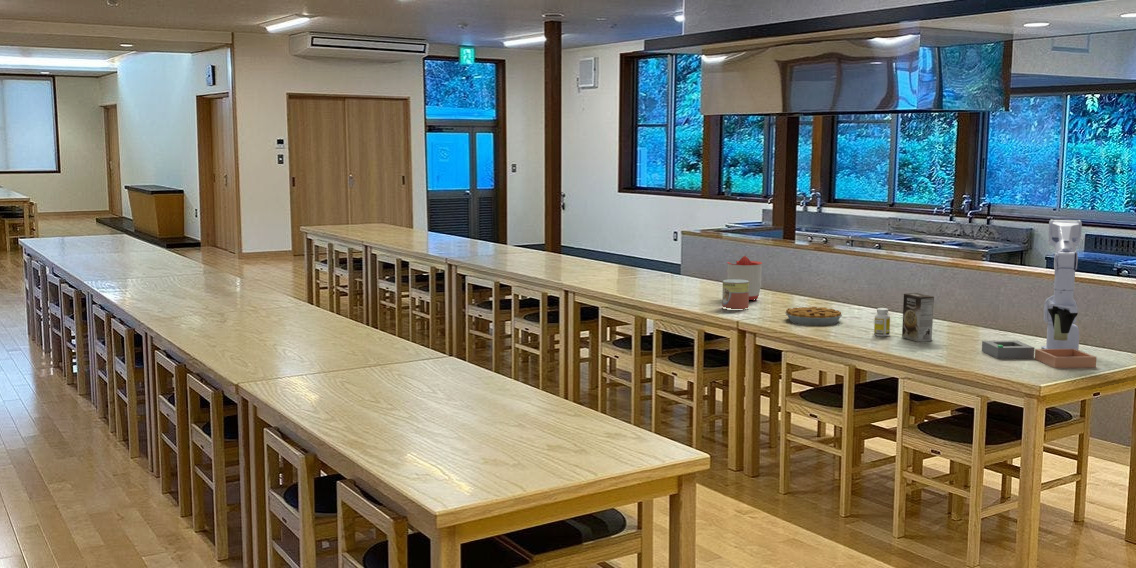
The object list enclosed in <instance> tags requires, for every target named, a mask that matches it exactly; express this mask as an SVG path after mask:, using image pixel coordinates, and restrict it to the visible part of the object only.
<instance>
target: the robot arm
mask: <svg viewBox="0 0 1136 568" xmlns="http://www.w3.org/2000/svg"><path fill="white" fill-rule="evenodd" d="M1082 223H1083V222H1082V221H1081V219H1077V220H1071V219H1050V220H1049V222H1048V242H1049V243H1048V244H1049V245H1050V246H1052V247H1053V248H1054V250H1055V253H1054V258H1053V259H1054V260H1053V268H1054V280H1053V281H1054V284H1053V295H1051V296H1049V297H1047V298H1046V300H1045V301H1044V305H1043V306H1044V307H1043V321H1044V323H1046V324H1047V329H1046V345H1042V346H1040V349H1077V350H1080V349H1079V347H1080V345H1079V344H1080V329H1079V326H1078V325H1076V322H1077V316H1078V314H1079V313H1078V311H1079V307H1078V306H1077V302H1076V300H1075V299H1074V296H1075V294H1074V293H1075V279H1076V278H1075V277H1076V271H1077V269H1078V262H1079V261H1078V259H1079V258H1078V257H1079V256H1078V252H1077V251H1076V248H1077V247H1078V246H1079V243H1080V242H1081V237H1082V229H1083V227H1082ZM1055 314H1058V315H1059V318H1060V327H1061V333H1068V339H1067V340H1065V341H1061V340H1055V339H1054V323H1055Z"/></svg>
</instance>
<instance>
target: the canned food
mask: <svg viewBox="0 0 1136 568" xmlns="http://www.w3.org/2000/svg"><path fill="white" fill-rule="evenodd" d="M721 294H722V297H721V298H722V300H721V303H722V304H721V305H722V306H723V307H726V308H731V309H745V308H748V307H749V305H750V303H749V302H750V301H749V281H748V280H742V279H728V278H727V279H723V280H722V293H721Z"/></svg>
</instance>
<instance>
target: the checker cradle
mask: <svg viewBox="0 0 1136 568" xmlns="http://www.w3.org/2000/svg"><path fill="white" fill-rule="evenodd" d="M1035 349H1036V348H1035V347H1034V346H1032V345H1029V344H1027V343H1024V342H1022V341H1020V340H982V341H981V352H983V353H984V354H987V355H990V356H992V357H993V356H994V358H995V357H996V359H1035Z"/></svg>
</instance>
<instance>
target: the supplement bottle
mask: <svg viewBox="0 0 1136 568" xmlns="http://www.w3.org/2000/svg"><path fill="white" fill-rule="evenodd" d="M890 324H891V316H890V315H889V309H888V308H885V307H878V308H876V314H875V315H874V324H873V325H874V327H873V328H874V330H873V333H874V336H877V337H889V336H890V333H891V331H890V330H891V325H890Z"/></svg>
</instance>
